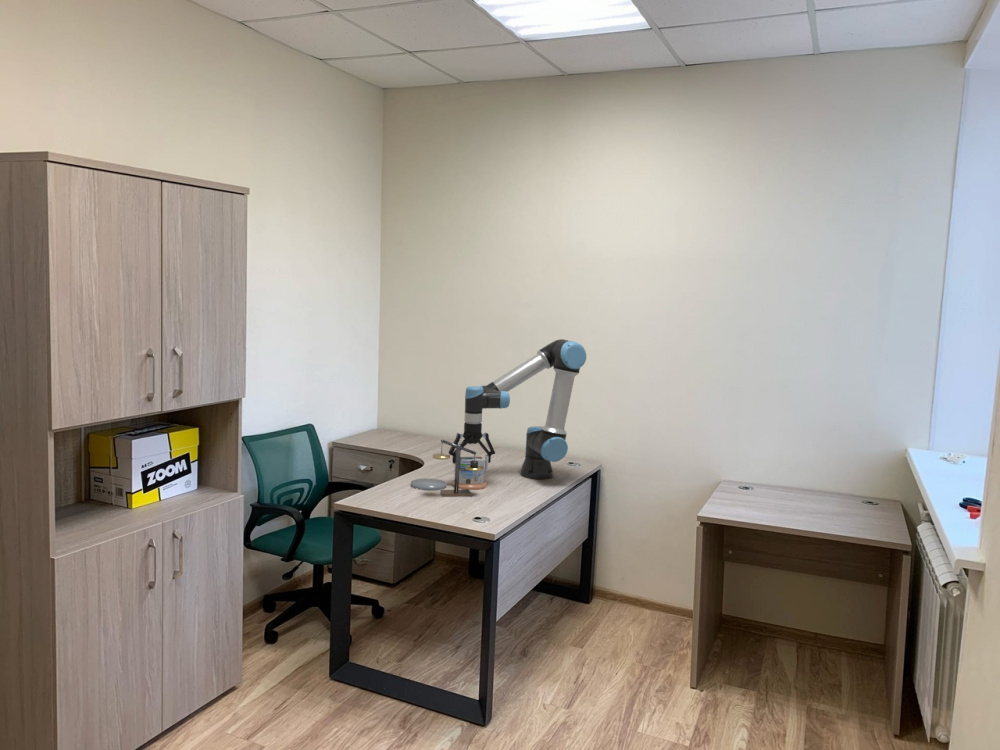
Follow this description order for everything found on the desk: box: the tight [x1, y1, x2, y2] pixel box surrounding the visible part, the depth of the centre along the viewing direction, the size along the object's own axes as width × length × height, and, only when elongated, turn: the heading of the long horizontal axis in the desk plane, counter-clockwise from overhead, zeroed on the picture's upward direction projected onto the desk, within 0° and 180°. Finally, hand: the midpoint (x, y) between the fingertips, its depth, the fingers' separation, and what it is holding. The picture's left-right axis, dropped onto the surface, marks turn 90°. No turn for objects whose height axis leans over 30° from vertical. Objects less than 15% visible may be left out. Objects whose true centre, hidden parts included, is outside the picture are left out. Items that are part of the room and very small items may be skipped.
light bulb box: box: [459, 456, 485, 484], centre depth 333 cm, size 11×7×11 cm, turn 106°
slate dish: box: [410, 477, 447, 491], centre depth 328 cm, size 15×15×1 cm
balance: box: [432, 439, 482, 498], centre depth 316 cm, size 21×7×23 cm, turn 106°
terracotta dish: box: [451, 479, 488, 491], centre depth 333 cm, size 15×15×1 cm
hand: (471, 470), depth 333 cm, fingers open, 13 cm apart
